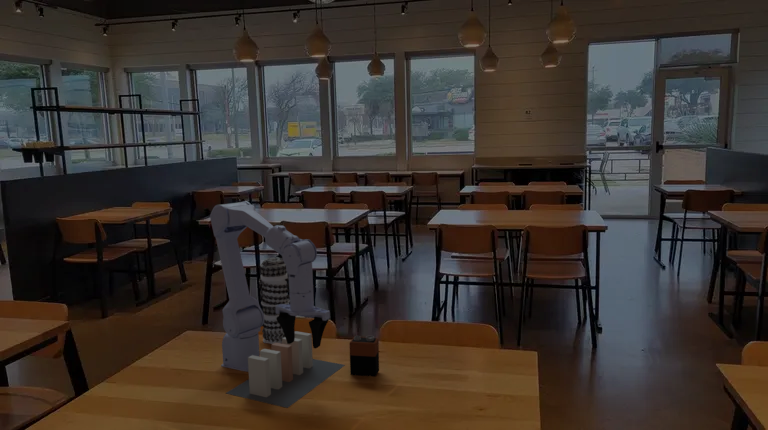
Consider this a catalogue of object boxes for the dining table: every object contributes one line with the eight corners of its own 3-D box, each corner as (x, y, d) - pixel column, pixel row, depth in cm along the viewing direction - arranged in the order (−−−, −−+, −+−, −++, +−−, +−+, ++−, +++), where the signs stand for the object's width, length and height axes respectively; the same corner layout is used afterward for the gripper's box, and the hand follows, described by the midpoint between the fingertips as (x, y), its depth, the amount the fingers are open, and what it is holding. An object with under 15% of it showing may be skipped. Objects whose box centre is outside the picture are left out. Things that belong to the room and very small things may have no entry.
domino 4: (299, 375, 144) (298, 341, 143) (283, 371, 146) (282, 338, 145) (303, 372, 145) (301, 339, 144) (287, 369, 148) (285, 336, 146)
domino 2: (278, 389, 136) (276, 354, 135) (261, 385, 138) (259, 350, 137) (282, 386, 137) (280, 351, 136) (265, 383, 140) (264, 348, 138)
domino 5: (309, 368, 148) (308, 335, 147) (293, 365, 150) (292, 333, 149) (312, 366, 149) (311, 333, 148) (297, 363, 152) (295, 331, 150)
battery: (376, 378, 142) (375, 340, 141) (350, 376, 144) (348, 339, 142) (379, 371, 146) (378, 334, 145) (354, 369, 148) (353, 333, 146)
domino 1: (266, 397, 132) (264, 360, 131) (249, 393, 134) (247, 357, 133) (270, 394, 133) (269, 358, 132) (254, 390, 136) (252, 355, 134)
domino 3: (289, 382, 140) (287, 347, 139) (273, 378, 142) (271, 344, 141) (293, 379, 141) (291, 345, 140) (276, 376, 144) (275, 342, 142)
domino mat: (225, 394, 135) (225, 393, 135) (289, 355, 158) (289, 354, 158) (287, 409, 127) (287, 407, 127) (345, 366, 150) (345, 364, 150)
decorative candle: (277, 332, 177) (273, 254, 173) (298, 338, 172) (295, 257, 168) (255, 341, 169) (250, 260, 166) (276, 347, 164) (272, 263, 161)
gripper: (266, 291, 135) (269, 346, 137) (317, 298, 129) (319, 354, 131) (284, 284, 141) (286, 336, 143) (333, 290, 135) (335, 344, 137)
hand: (303, 344), depth 137 cm, fingers open, 7 cm apart
